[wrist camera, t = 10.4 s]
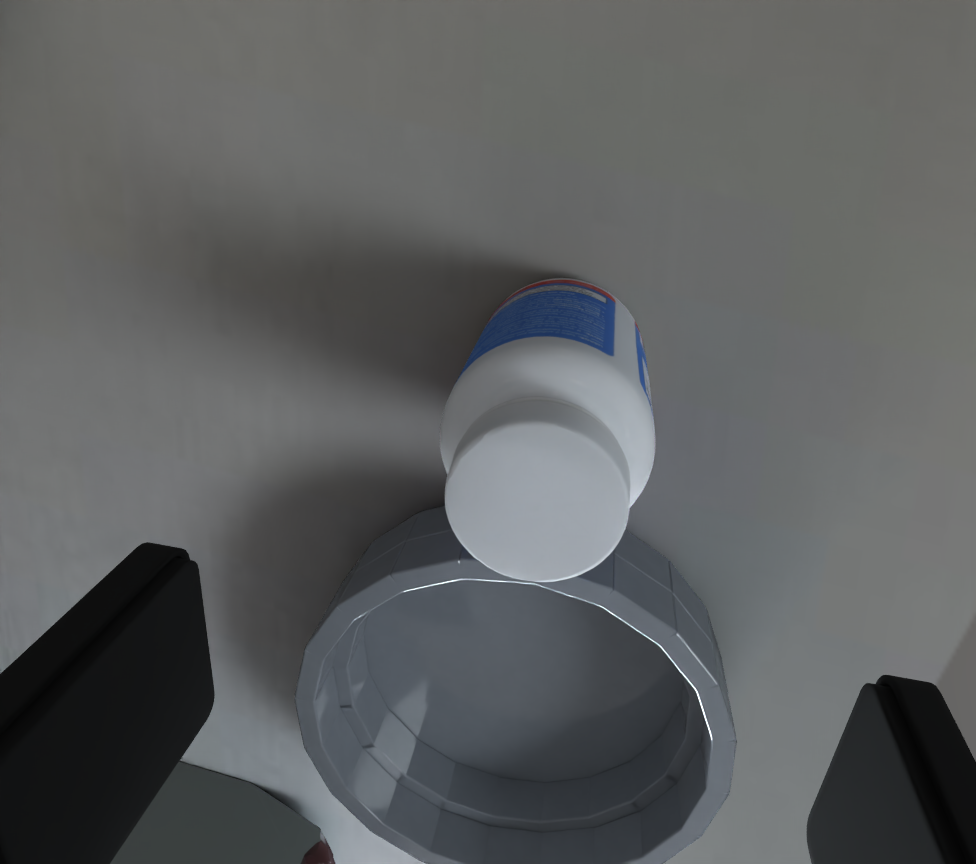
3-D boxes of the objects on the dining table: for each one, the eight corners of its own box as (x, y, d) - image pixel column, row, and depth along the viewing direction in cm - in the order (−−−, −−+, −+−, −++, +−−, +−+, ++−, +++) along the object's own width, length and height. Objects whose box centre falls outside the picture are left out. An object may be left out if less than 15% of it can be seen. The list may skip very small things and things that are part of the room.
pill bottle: (450, 351, 25) (356, 491, 16) (564, 238, 22) (530, 327, 14) (561, 459, 26) (531, 645, 17) (681, 361, 23) (717, 517, 15)
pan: (659, 446, 25) (666, 513, 21) (756, 770, 30) (777, 874, 26) (277, 540, 29) (222, 611, 25) (421, 808, 35) (394, 902, 30)
